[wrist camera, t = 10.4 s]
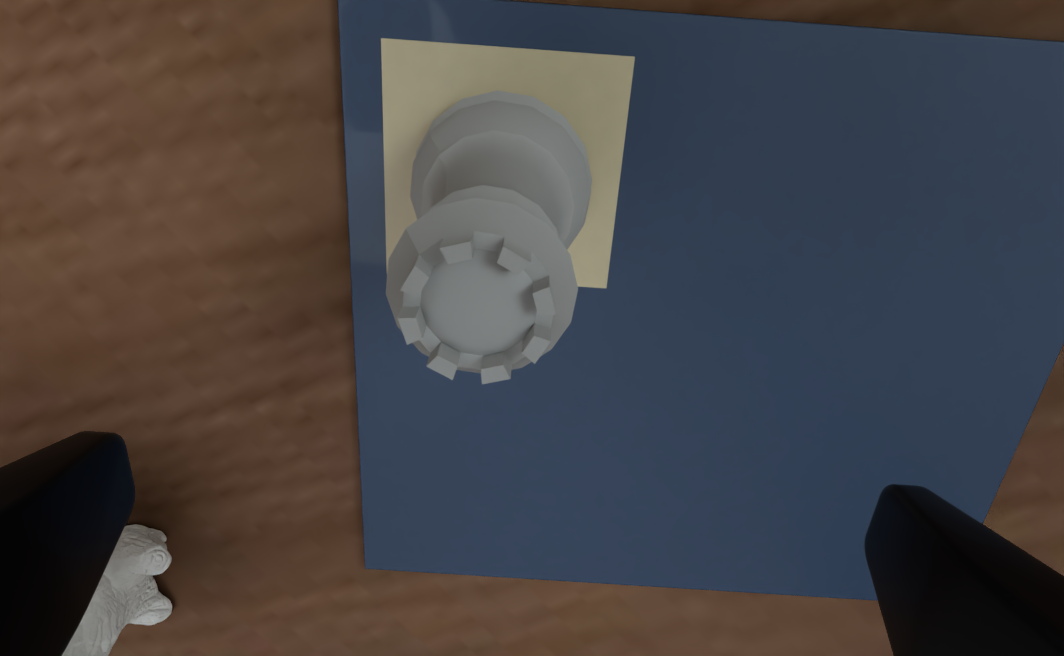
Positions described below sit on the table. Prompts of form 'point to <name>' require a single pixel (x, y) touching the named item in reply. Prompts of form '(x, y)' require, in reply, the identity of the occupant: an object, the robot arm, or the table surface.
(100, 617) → the white bunny statuette
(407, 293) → the rook chess piece
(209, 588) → the table surface
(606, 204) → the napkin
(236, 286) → the table surface
